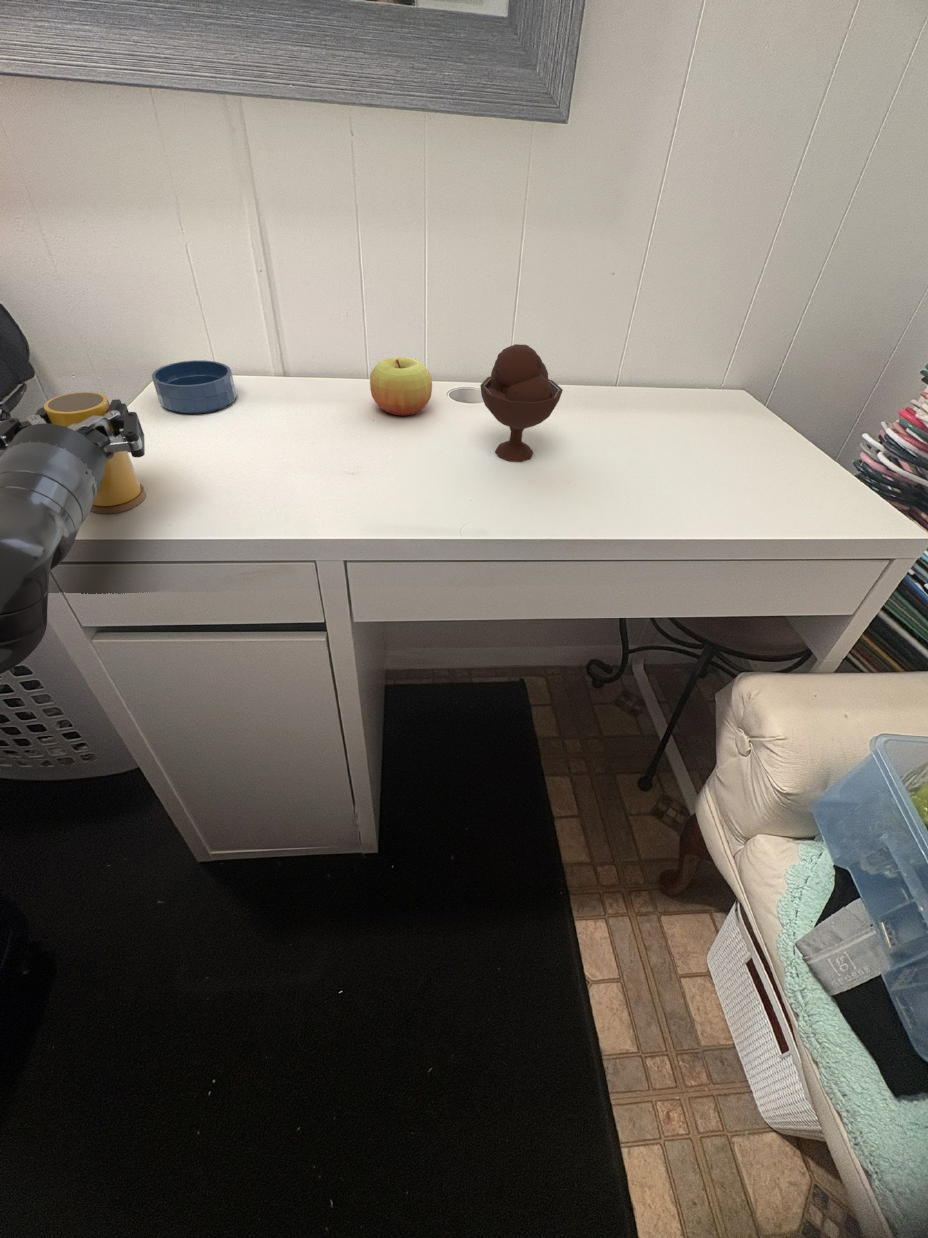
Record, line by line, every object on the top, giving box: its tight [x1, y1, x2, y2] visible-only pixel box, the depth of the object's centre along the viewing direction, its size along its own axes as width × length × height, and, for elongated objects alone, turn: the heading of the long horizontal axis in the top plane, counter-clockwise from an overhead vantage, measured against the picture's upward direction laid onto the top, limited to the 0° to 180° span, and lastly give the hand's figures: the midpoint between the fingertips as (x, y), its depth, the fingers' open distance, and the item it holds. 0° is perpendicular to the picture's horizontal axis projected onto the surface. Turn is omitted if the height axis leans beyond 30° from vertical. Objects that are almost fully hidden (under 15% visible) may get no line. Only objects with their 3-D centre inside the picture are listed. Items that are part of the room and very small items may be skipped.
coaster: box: [90, 483, 147, 515], centre depth 68 cm, size 7×7×1 cm
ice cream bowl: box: [480, 343, 564, 463], centre depth 77 cm, size 11×11×15 cm
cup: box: [43, 391, 141, 506], centre depth 64 cm, size 6×6×11 cm
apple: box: [369, 356, 433, 416], centre depth 90 cm, size 10×10×8 cm
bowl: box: [151, 359, 237, 415], centre depth 89 cm, size 11×11×4 cm
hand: (87, 409), depth 63 cm, fingers closed on cup, 6 cm apart
